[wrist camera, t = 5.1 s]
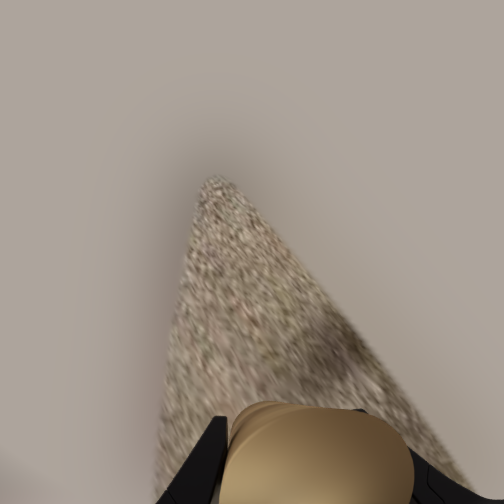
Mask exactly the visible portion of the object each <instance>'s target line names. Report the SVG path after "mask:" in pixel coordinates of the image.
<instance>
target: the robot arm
mask: <svg viewBox="0 0 504 504" xmlns="http://www.w3.org/2000/svg"><path fill="white" fill-rule="evenodd" d="M353 410H354V411H359V412H364V413H366V414H368V413H367V412H366V411H365V410H363V409H353ZM407 447H408V446H407ZM408 449H409V451H410V454H411V457H412V460H413V466H414V486H413V492H412V496H411V499H410V502H409V504H504V500H492V499H487V498H484V497H481V496H479V495H477V494H476V493H474V492H472V491H470V490H468V489H467V488H465V487H463V486H461V485H460V484H458V483H456V482H455V481H453V480H451V479H450V478H448V477H447V476H445V475H444V474H442V473H441V472H440V471H438V470H437V469H436V468H434V467H433V466H432V465H431V464H429V463H428V462H427V461H425V460H424V459H423V458H422V457H420V456H419V455H418V454H417V453H415V452H414V451H413V450H412V449H410V448H409V447H408ZM227 452H228V423H227V417H226V416H214V417H213V418H212V420H211V422H210V423H209V425H208V426H207V428H206V430H205V431H204V433H203V434H202V436H201V437H200V439H199V441H198V442H197V444H196V445H195V447H194V448H193V450H192V451H191V453H190V454H189V456H188V457H187V459H186V461H185V462H184V464H183V465H182V467H181V468H180V470H179V471H178V473H177V474H176V476H175V477H174V478H173V480H172V481H171V483H170V484H169V486H168V487H167V490H165V491H164V493H163V494H162V496H161V497H160V499H159V500H158V501H157V503H156V504H219V496H220V490H221V485H222V479H223V474H224V468H225V462H226V458H227Z"/></svg>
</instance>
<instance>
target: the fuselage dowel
mask: <svg viewBox="0 0 504 504" xmlns="http://www.w3.org/2000/svg"><path fill="white" fill-rule="evenodd" d="M413 486H414V466H413V460H412V457H411V454H410V451H409V449H408V447H407V445H406V443H405V442H404V440H403V439H402V437H401V436H400V435H399V434H398V433H397V432H396V431H395V430H394V429H393V428H392V427H391V426H390V425H388V424H387V423H386V422H384V421H382V420H380V419H378V418H377V417H375V416H372V415H369V414H366V413H364V412H359V411H354V410H345V409H333V408H323V407H314V406H305V405H297V404H290V403H283V402H276V401H262V402H258V403H255V404H253V405H250V406H249V407H247V408H245V409H244V410H243V411H242V412H241V413H240V414H239V415H238V416H237V418H236V419H235V421H234V423H233V426H232V429H231V434H230V440H229V445H228V452H227V458H226V462H225V468H224V474H223V479H222V485H221V490H220V496H219V504H409V502H410V499H411V496H412V492H413Z"/></svg>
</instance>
